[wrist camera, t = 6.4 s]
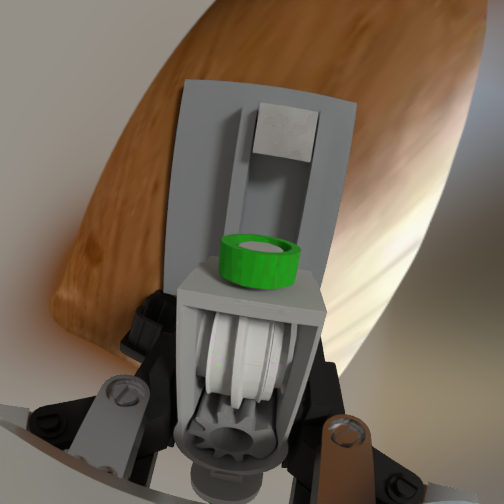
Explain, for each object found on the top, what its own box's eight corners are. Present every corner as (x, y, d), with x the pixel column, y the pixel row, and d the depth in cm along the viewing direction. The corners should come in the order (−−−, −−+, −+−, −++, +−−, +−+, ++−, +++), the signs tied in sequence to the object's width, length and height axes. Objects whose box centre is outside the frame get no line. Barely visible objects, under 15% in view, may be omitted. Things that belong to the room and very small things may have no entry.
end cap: (139, 329, 34) (115, 360, 28) (153, 285, 32) (126, 314, 25) (210, 365, 35) (197, 402, 28) (232, 324, 32) (221, 362, 26)
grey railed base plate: (189, 82, 25) (170, 68, 20) (354, 105, 24) (369, 94, 19) (167, 288, 32) (148, 310, 27) (310, 314, 31) (314, 342, 26)
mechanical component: (223, 366, 17) (181, 504, 8) (242, 198, 14) (170, 244, 5) (270, 373, 17) (258, 518, 7) (302, 206, 14) (346, 270, 5)
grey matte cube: (263, 110, 24) (260, 102, 20) (313, 119, 23) (318, 112, 20) (256, 153, 25) (252, 152, 21) (305, 162, 25) (310, 162, 21)
